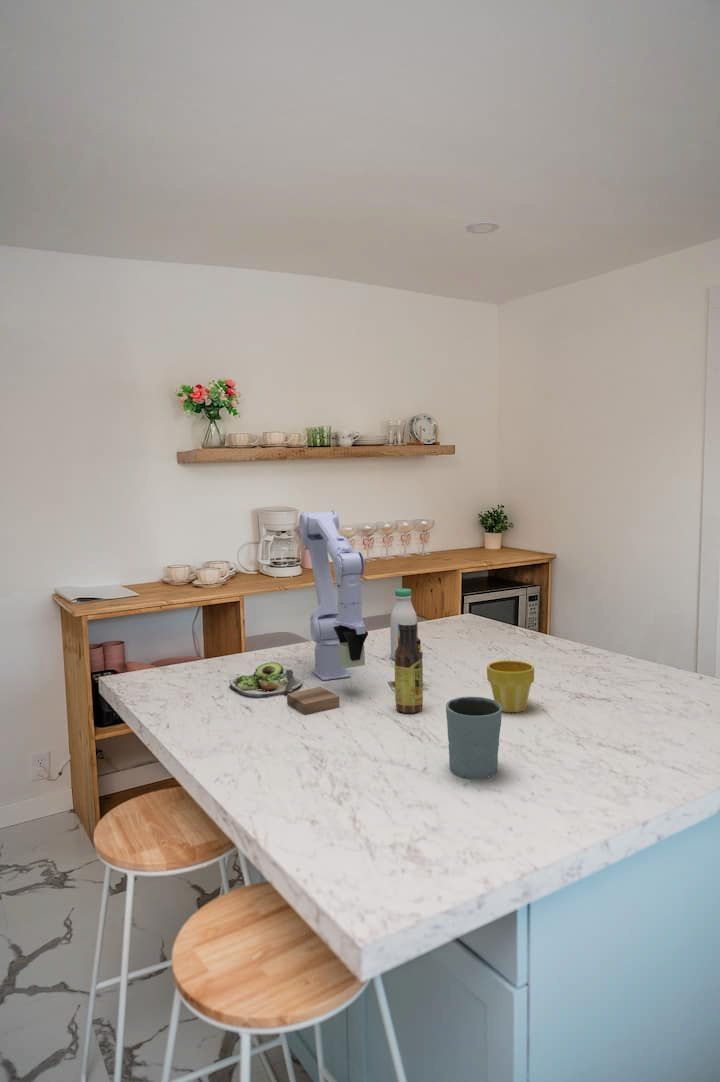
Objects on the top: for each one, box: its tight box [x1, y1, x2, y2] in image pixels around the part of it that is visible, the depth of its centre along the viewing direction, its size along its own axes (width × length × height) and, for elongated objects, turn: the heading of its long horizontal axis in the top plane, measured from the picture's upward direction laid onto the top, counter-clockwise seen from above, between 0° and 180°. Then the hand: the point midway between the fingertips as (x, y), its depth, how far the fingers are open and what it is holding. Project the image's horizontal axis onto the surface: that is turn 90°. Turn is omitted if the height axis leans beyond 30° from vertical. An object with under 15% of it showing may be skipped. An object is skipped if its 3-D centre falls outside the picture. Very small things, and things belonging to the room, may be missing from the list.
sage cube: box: [338, 642, 366, 669], centre depth 176 cm, size 5×5×5 cm
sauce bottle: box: [394, 622, 424, 714], centre depth 163 cm, size 7×6×20 cm
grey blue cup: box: [445, 696, 503, 779], centre depth 131 cm, size 10×10×12 cm
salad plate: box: [229, 661, 303, 698], centre depth 183 cm, size 19×18×5 cm
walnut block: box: [286, 686, 341, 716], centre depth 169 cm, size 9×9×3 cm
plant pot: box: [486, 659, 535, 714], centre depth 163 cm, size 10×10×10 cm
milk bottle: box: [389, 588, 419, 661], centre depth 206 cm, size 8×8×20 cm
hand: (351, 657), depth 176 cm, fingers closed on sage cube, 5 cm apart
